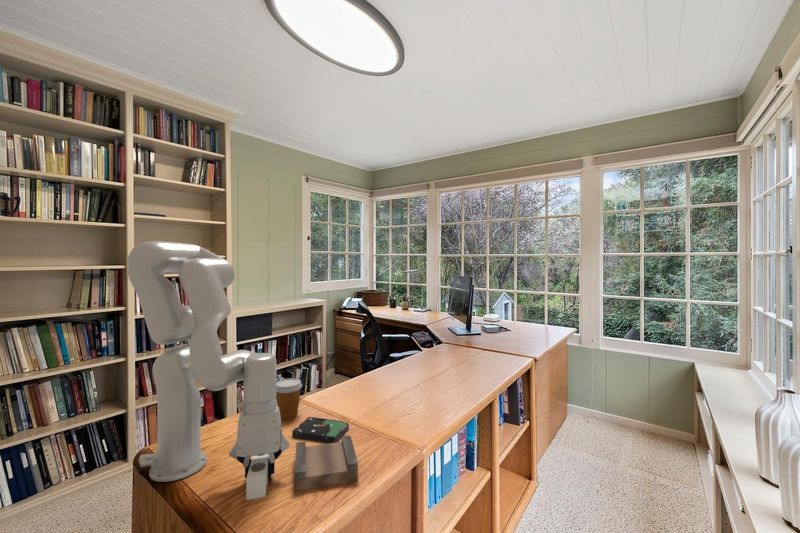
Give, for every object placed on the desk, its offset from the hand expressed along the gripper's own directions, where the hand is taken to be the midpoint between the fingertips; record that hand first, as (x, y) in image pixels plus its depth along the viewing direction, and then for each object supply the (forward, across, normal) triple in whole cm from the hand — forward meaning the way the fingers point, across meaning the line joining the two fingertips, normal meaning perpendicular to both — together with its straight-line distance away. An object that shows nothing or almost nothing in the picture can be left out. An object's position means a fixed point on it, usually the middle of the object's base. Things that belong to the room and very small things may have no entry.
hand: (260, 477), depth 83 cm
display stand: (+1, +16, 0) cm, 16 cm away
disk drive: (+1, +16, +20) cm, 25 cm away
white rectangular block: (+1, 0, 0) cm, 1 cm away
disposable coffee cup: (+1, +5, +35) cm, 35 cm away
